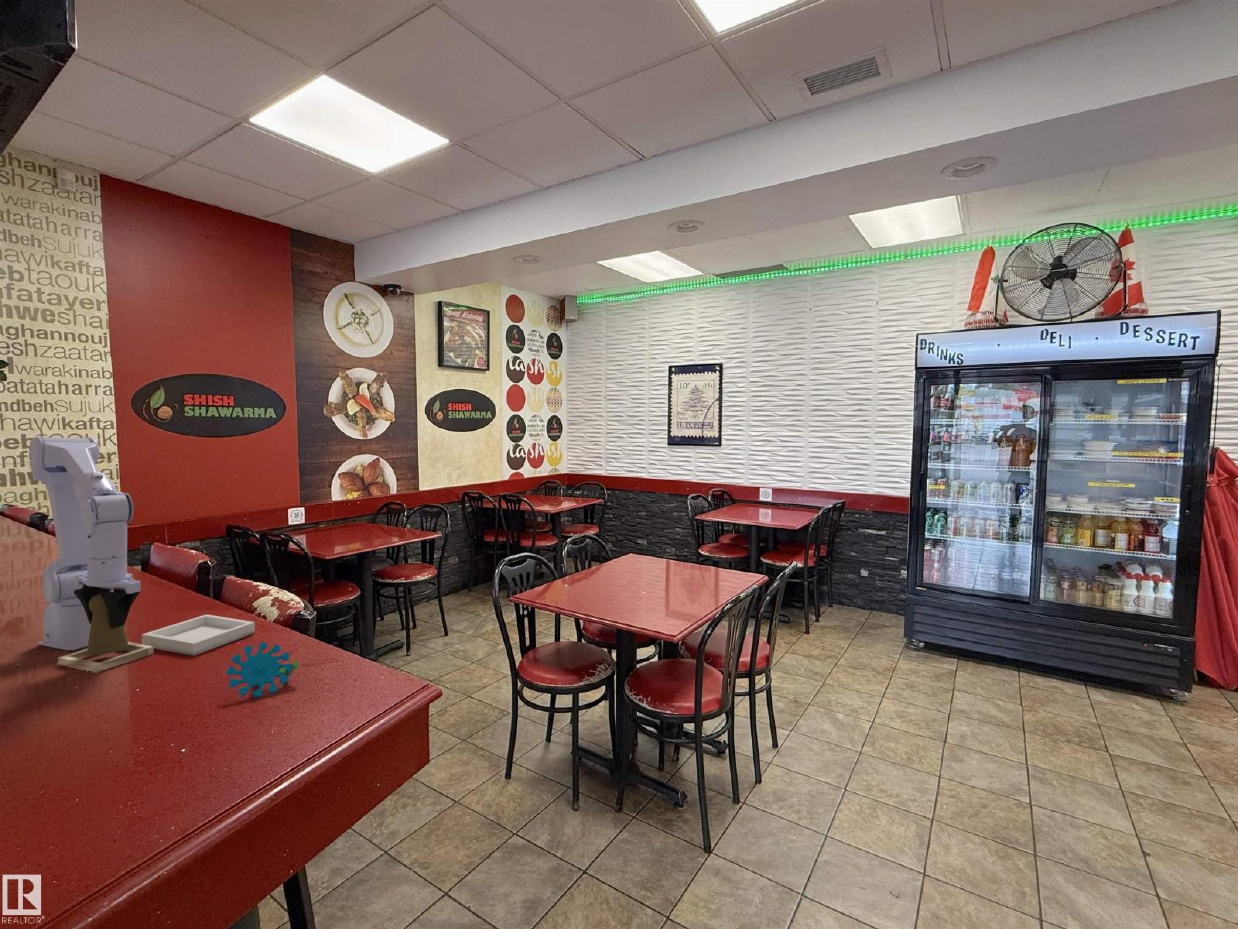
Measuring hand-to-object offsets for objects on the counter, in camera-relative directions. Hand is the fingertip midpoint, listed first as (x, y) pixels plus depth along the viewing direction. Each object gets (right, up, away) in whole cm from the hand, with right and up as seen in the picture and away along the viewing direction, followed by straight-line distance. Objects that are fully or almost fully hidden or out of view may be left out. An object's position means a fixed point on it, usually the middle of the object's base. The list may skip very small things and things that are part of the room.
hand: (107, 624), depth 109 cm
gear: (+36, -10, -8) cm, 38 cm away
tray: (+9, -7, +12) cm, 17 cm away
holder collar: (0, -7, 0) cm, 7 cm away
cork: (0, -5, 0) cm, 5 cm away
